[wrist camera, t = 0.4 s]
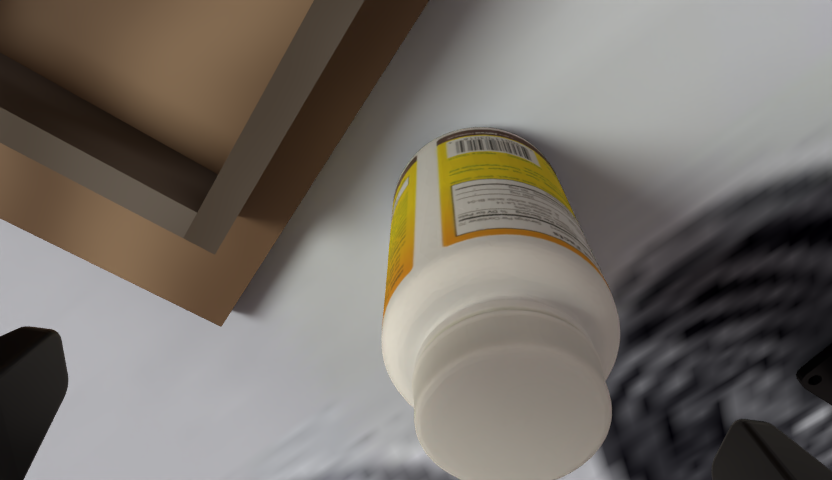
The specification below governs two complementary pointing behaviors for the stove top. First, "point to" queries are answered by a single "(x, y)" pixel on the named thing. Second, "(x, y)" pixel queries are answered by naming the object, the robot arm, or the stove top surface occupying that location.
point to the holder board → (180, 127)
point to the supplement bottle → (496, 312)
